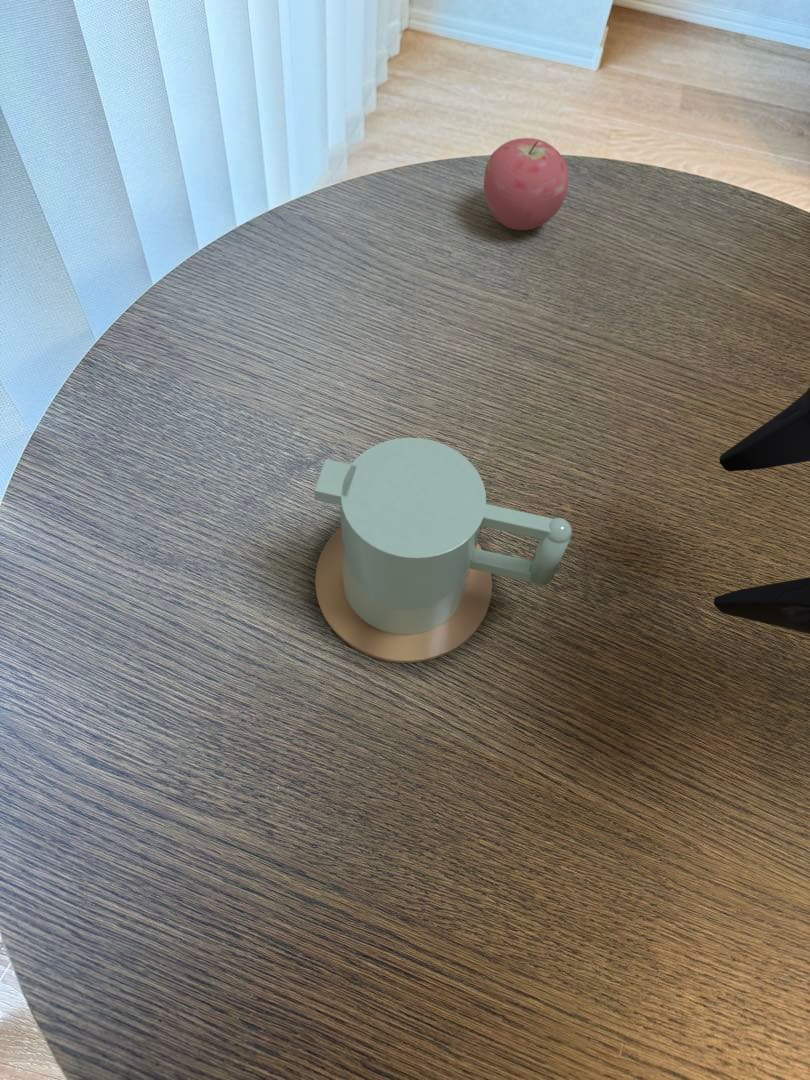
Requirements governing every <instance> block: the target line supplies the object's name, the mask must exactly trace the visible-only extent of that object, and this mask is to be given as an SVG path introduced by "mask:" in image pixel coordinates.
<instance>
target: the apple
mask: <svg viewBox="0 0 810 1080" xmlns="http://www.w3.org/2000/svg"><path fill="white" fill-rule="evenodd" d="M569 178H570V177H569V171H568V167H567V164H566V161H565V159H564V158H563V156H562V155H561V152H559V151H558V150H557V149H556V148H555V146H553V145H552V144H549V143H548V142H546V141H545V140H541V139H539V138H533V137H521V138H515V139H511V140H509V141H507V142H504V143H503V144H501V145H500V146H499V147H498V148H496V149H495V150H494V151H493V152H492V153H491V155H490V157H489V159H488V161H487V164H486V165H485V171H484V177H483V190H484V197H485V201H486V204H487V206H488V208H489V211H490V213H491V215H492V216H493V218H494V219H495V220H496V221H497V222H498V223H500V224H501V225H502V226H504V227H505V228H508V229H512V230H516V231H529V230H532V229H535V228H538V227H541V226H542V225H544V224H545V223H547V222H548V221H550V219H552V218H553V217H554V216H555V215H556V214H557V213H558V211H559V210H561V209H560V208H562V206H563V203H564V202H565V198H566V195H567V193H568V189H569V182H570V181H569Z"/></svg>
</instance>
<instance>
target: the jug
mask: <svg viewBox="0 0 810 1080" xmlns="http://www.w3.org/2000/svg"><path fill="white" fill-rule="evenodd" d="M313 491H314V492H313V493H314V500H315V501H318V502H322V503H326V504H331V505H335V506H340V527H341V548H342V584H343V590H344V594H345V596H346V599H347V601H348V603H349V604H350V606H351V608H352V609H353V610H354V612H355V613H356V614H357V615H358V616H359V617H360V618H361V619H363V620H364V621H365V622H366V623H368V624H370V625H371V626H373V627H375V628H377V629H379V630H382V631H385V632H388V633H393V634H400V635H411V634H419V633H423V632H427V631H430V630H432V629H434V628H436V627H438V626H440V625H441V624H443V623H445V622H446V621H447V620H448V619H449V618H450V617H451V616H452V615H453V614H454V613H455V612H456V610H457V609H458V607H459V606H460V604H461V602H462V600H463V597H464V593H465V590H466V586H467V582H468V578H469V574H470V570H471V569H473V570H478V571H482V572H487V573H491V575H497V576H500V577H505V578H510V579H514V580H519V581H523V582H527V583H531V584H532V585H533V586H536V587H546V586H548V585H550V584H551V583H552V581H553V579H554V577H555V575H556V572H557V570H558V568H559V565H560V564H561V561H562V558H563V556H564V555H565V552H566V549H567V548H568V545H569V543H570V540H571V538H572V535H573V527H572V524H570V521H568V520H567V519H566V518H564V517H559V516H558V517H548V516H544V515H539V514H535V513H529V512H526V511H522V510H516V509H512V508H507V507H502V506H499V505H494V504H488V503H487V492H486V488H485V484H484V481H483V479H482V477H481V476H480V473H479V471H478V470H477V469H476V467H475V466H474V465H473V464H472V462H470V460H469V459H468V458H467V457H466V456H464V455H463V454H462V453H460V452H459V451H457V450H456V449H455V448H452V447H451V446H448V445H446V444H445V443H442V442H439V441H435V440H432V439H429V438H428V439H426V438H421V437H398V438H392V439H389V440H386V441H382V442H379V443H377V444H374V445H372V446H371V447H369V448H368V449H366V450H365V451H364V452H361V454H359V455H358V456H357V457H356V458H355V459H354V461H353V462H352V463H347V462H343V461H338V460H333V459H329V458H325V459H324V460H323V464H322V467H321V470H320V473H319V475H318V479H317V481H316V484H315V487H314V490H313ZM482 528H488V529H491V530H496V531H501V532H507V533H510V534H514V535H519V536H523V537H529V538H531V539H532V538H533V539H537V540H538V543H537V546H536V548H535V552H534V553H533V556H532V559H531V560H530V559H526V558H520V557H515V556H511V555H507V554H503V553H497V552H494V551H493V552H492V551H488V550H485V549H484V550H483V549H482V550H480V549H476V546H477V543H478V541H479V538H480V534H481V530H482Z"/></svg>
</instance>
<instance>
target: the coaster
mask: <svg viewBox="0 0 810 1080" xmlns="http://www.w3.org/2000/svg"><path fill="white" fill-rule="evenodd" d="M476 549H480V550H483V549H482V547H481V545H480V544H479V543H478V542H477V546H476ZM314 581H315V582H314V583H315V594H316V600H317V603H318V606H319V608H320V611H321V614H322V616H323V618H324V619H325V621H326V622H327V624H328V626H329V627H330V628H331V629H332V631H333V632H334V633H335V634H336V635H337V636H338V638H340V639H341V640H342V641H343V642H344V643H346V644H347V645H348V646H350V647H352V648H353V649H354V650H356V651H358V652H360V653H362V654H363V655H366V656H368V657H370V658H374V659H376V660H381V661H383V662H384V661H385V662H389V663H390V662H391V663H397V664H413V663H415V664H416V663H422V662H427V661H430V660H435V659H438V658H441V657H443V656H446V655H447V654H449V653H452V652H453V651H455V650H457V649H458V648H460V647H461V646H462V645H464V644H465V643H466V642H467V641H468V640H469V639H470V638H472V636H473V635H474V634H475V633H476V632H477V630H478V629H479V628H480V626H481V625H482V624H483V621H484V620H485V618H486V615H487V613H488V610H489V607H490V604H491V599H492V593H493V592H492V591H493V580H492V574H491V573H487V572H482V571H478V570H473V569H471V570H470V574H469V578H468V582H467V586H466V590H465V593H464V597H463V600H462V602H461V604H460V606H459V607H458V609H457V610H456V612H455V613H454V614H453V615H452V616H451V617H450V618H449V619H448V620H447V621H446V622H445V623H443V624H441V625H440V626H438V627H436V628H434V629H432V630H430V631H427V632H423V633H419V634H411V635H400V634H393V633H388V632H385V631H382V630H379V629H377V628H375V627H373V626H371V625H370V624H368V623H366V622H365V621H364V620H363V619H361V618H360V617H359V616H358V615H357V614H356V613H355V612H354V610H353V609H352V608H351V606H350V604H349V603H348V601H347V599H346V596H345V594H344V590H343V584H342V548H341V526H340V527H339V528H338V529H337V530H336V531H335V532H334V533H333V534H331V537H330V538H329V539H328V541H327V542H326V543H325V545H324V547H323V548H322V551H321V553H320V556H319V558H318V561H317V564H316V569H315V579H314Z"/></svg>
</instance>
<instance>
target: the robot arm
mask: <svg viewBox="0 0 810 1080" xmlns="http://www.w3.org/2000/svg"><path fill="white" fill-rule="evenodd" d="M718 462H719V464H720V465H721V466H722V468H723V469H724V470H725V471H727V472H742V471H756V470H762V469H763V470H764V469H769V468H776V467H782V466H788V465H795V464H801V463H806V462H807V463H808V462H810V386H809V387H808V389H807V390H806V391H805V392H804V393H803V394H802V395H800V396H799V397H798V398H797V399H795V401H793V402H792V403H791V404H789V405H788V406H787V407H785V409H783V410H781V412H779V413H778V414H777V415H775V416H774V417H772V418H771V419H769V420H768V421H767V422H765V423H763V424H762V425H761V426H759V427H758V428H757V429H755V430H754V431H753V432H751V433H750V434H748V435H747V436H746V437H743V439H741V440H740V441H738V442H737V443H736V444H734V445H733V446H731V447H730V448H729V449H727V450H726V451H724V452H723V453H722V454H721V455H719V461H718ZM713 605H714V607H715V608H716V609H717V610H718V611H719V612H720V613H722V614H724V615H728V616H731V617H735V618H741V619H745V620H750V621H754V622H758V623H761V624H767V625H770V626H774V627H779V628H782V629H787V630H792V631H797V632H801V633H804V634H808V635H810V576H809V577H802V578H796V579H792V580H791V579H790V580H785V581H779V582H774V583H769V584H763V585H757V586H752V587H746V588H740V589H736V590H733V591H730V592H727V593H724V594H721V595H718V596H715V597H714V598H713Z"/></svg>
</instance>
